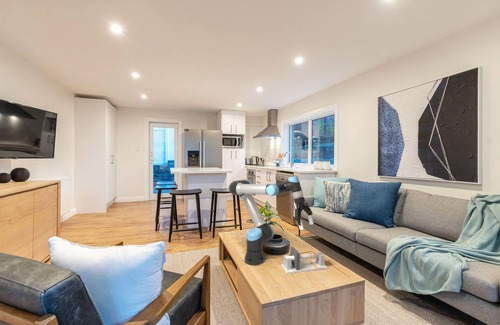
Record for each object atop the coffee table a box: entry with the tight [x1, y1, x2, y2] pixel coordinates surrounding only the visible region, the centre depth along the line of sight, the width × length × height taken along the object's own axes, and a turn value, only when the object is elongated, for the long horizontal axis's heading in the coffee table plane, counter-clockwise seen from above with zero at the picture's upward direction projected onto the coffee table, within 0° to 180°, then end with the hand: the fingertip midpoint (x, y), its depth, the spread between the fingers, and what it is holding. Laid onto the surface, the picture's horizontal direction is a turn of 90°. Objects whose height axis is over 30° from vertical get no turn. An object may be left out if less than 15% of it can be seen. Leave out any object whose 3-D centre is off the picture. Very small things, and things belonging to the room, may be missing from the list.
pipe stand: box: [280, 251, 329, 275], centre depth 165 cm, size 30×12×9 cm, turn 102°
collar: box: [289, 246, 301, 269], centre depth 163 cm, size 2×11×11 cm, turn 12°
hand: (307, 226), depth 164 cm, fingers open, 13 cm apart
